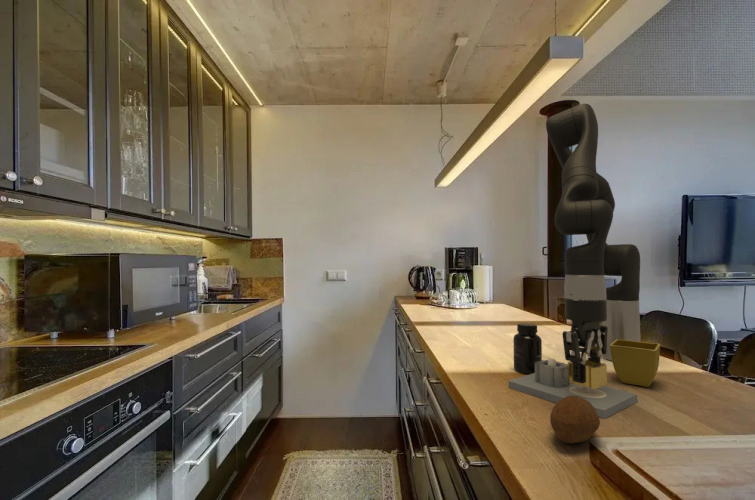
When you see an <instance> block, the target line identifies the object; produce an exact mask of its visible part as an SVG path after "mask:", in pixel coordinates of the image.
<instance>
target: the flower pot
mask: <svg viewBox="0 0 755 500" xmlns="http://www.w3.org/2000/svg"><path fill="white" fill-rule="evenodd" d="M610 350H611V356H612V367H613V369H614V371H615V373H616V375H617V378H619V380H620V381H621V383H623V384H629V385H635V386H640V387H643V388H644V387H646V388H648V387H650V386H651V385H652V383H653V381H654V379H655V377H656V375H657V373H658V370H659V365H660V354H661V344H660V343H655V342H646V341H641V342H637V341H629V340H619V339H616V340H615V341H614V342H613V343H611V344H610Z"/></svg>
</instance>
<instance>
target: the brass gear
mask: <svg viewBox="0 0 755 500" xmlns="http://www.w3.org/2000/svg"><path fill="white" fill-rule="evenodd" d="M567 364H568V381H569V382H570V383H574V384H576V385H580V386H584V387H590V388H591V389H597V388H601V387H603V386H607V385H608V368H607V367H608V366H607V364H606V363H603V362H601V363H600V362H596V361H591V360H588V359H586V361H585V365H586V367H585V375H586V382H585V383H578V382H575V381H574V380H573V363H572V362H571V361H567Z"/></svg>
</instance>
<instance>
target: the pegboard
mask: <svg viewBox="0 0 755 500" xmlns="http://www.w3.org/2000/svg"><path fill="white" fill-rule="evenodd" d="M547 360H548V365H549V366H556V361H557V360H556V359H555V358H547ZM507 384H508V389H511V390H515V391H518V392H521V393H525V394H528V395H530V396H533V397H537V398H539V399H543V400H545V401H549V402H551V403H555V404H557V403H558V402H559V401H560V400H561V399H563V398H565V397H567V396H578V397H580V398H583V399H585V400H587V401H588V402H590V403H591V404H592V406H593V407H594V408H595V409H596V412H597V414H598V417H599V419H600V418H601V419H604V420H605V419H607V418H609V417H610V416H613V415H615V414H617V413H618V412H619V413H620V412H621V411H622V410H624V409H626V408H628V407H631V406H632V405H634V404H636V403H638V393H634V392H630V391H627V390H622V389H618V388H614V387H611V386H607V385H605V386H603V387H601V388H597V389H591V388H590V387H584V386H580V385H576V384H574V383H570V384H568V385H566V386H563V387H560V388H556V387H554V386H548V385H544V384H541V383H539V382H536V381H535V373H533V374H526V375H522V376H520V377H518V378H514V379H510V380H508V383H507Z"/></svg>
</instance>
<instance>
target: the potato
mask: <svg viewBox="0 0 755 500" xmlns="http://www.w3.org/2000/svg"><path fill="white" fill-rule="evenodd" d="M549 417H550V418H549V419H550V420H549V421H550V427H551V429H552V430H553V432H554V434H555V435H556V437H557V438H558V439H559V440H560V441H561V442H563V443H565V444H571V445H573V444H576V443H577V444H578V443H583V442H586V441H588V440H589V439H591V437H592V436H593V435H594V434H595V433H596V432H597V430H598V429H599V427H600V424H601V421H600V417H598V414H597V412H596V409H595V408H594V407H593V406H592V404H591V403H590V402H588V401H587V400H585V399H583V398H580V397H578V396H567V397H565V398H563V399H561V400H560V401H559V402H558V403H555V405H554V406H553V407H552V410H551V412H550V416H549Z"/></svg>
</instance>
